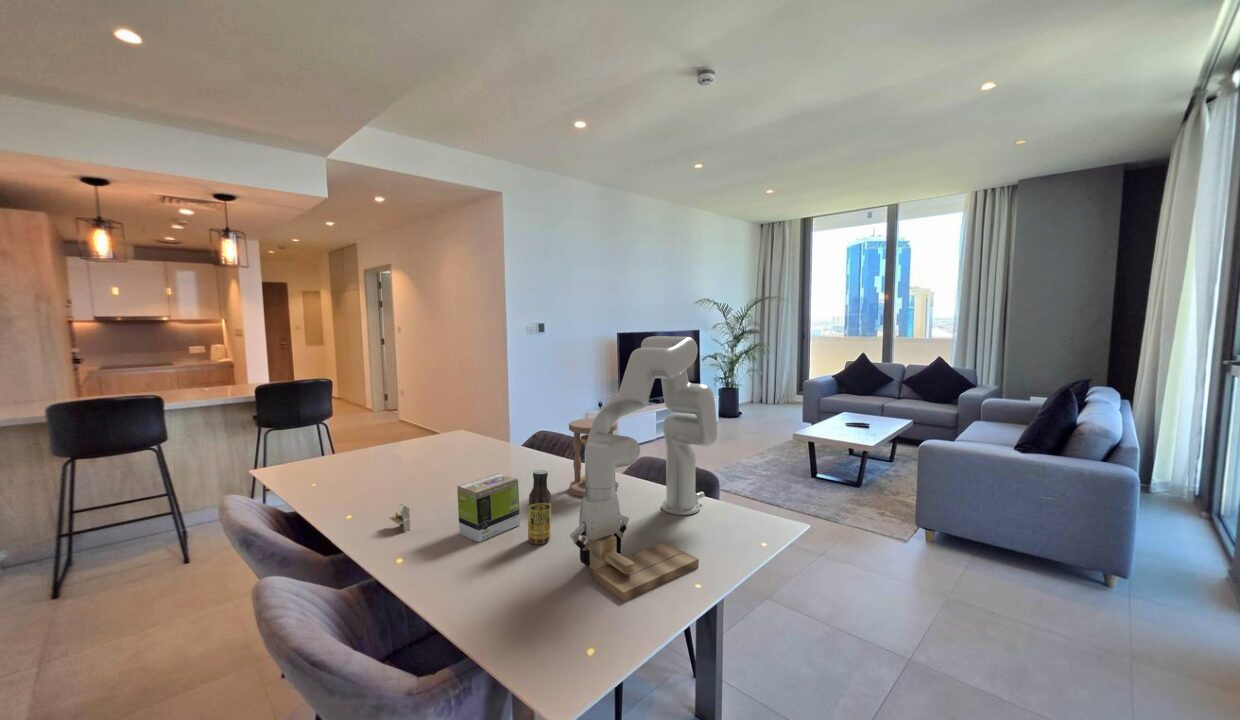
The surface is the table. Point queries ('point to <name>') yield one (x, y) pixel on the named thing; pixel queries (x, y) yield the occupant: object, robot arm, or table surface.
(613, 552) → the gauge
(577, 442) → the hourglass
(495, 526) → the tea box
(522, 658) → the table surface
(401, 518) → the architectural model
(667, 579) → the board
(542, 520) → the sauce bottle
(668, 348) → the robot arm
